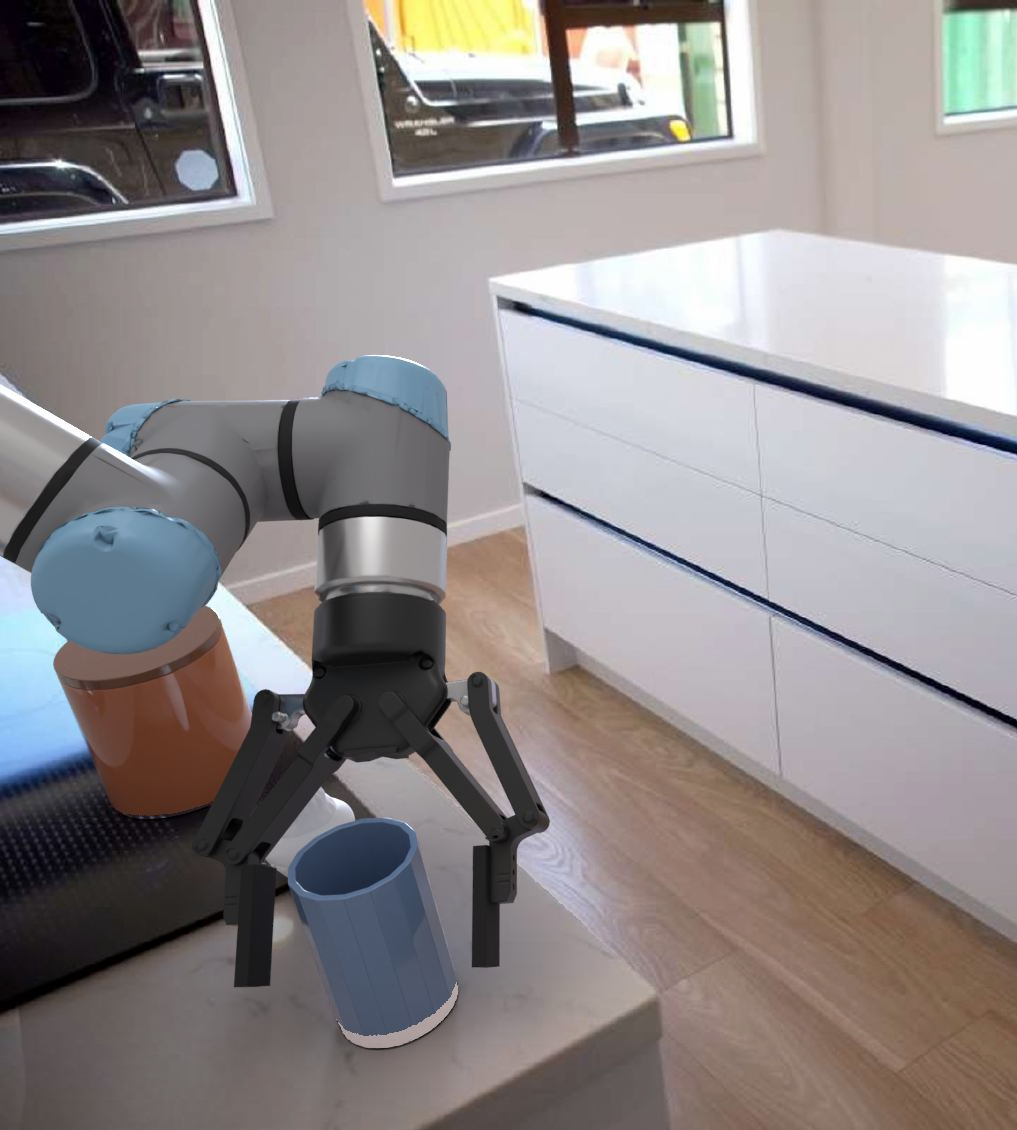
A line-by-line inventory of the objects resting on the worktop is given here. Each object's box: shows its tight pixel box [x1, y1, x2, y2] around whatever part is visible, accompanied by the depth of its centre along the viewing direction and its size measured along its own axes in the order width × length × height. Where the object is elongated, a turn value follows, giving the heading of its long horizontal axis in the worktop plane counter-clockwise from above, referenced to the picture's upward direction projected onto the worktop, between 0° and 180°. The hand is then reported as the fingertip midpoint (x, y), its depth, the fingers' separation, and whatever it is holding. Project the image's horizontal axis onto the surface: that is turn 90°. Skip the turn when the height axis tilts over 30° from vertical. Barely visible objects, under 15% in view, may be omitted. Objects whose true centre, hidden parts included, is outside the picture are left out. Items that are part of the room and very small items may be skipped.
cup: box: [287, 816, 458, 1036], centre depth 73 cm, size 7×7×11 cm
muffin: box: [264, 786, 356, 878], centre depth 85 cm, size 6×6×7 cm
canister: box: [52, 605, 253, 816], centre depth 95 cm, size 11×11×12 cm
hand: (369, 977), depth 71 cm, fingers open, 12 cm apart
